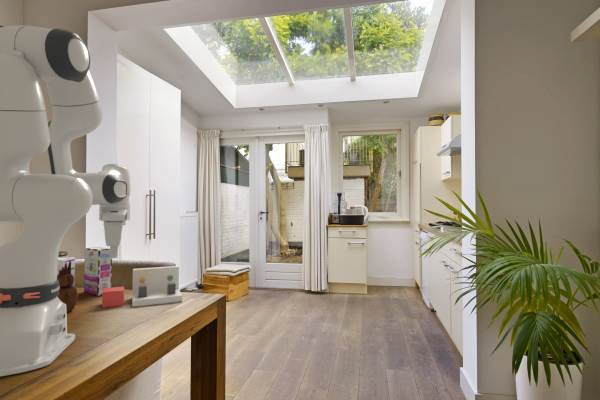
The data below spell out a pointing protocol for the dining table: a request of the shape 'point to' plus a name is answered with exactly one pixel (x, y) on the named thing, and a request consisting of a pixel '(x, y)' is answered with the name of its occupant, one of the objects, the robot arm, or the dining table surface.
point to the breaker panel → (156, 298)
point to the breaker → (142, 291)
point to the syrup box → (66, 260)
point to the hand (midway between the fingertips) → (113, 257)
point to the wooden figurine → (67, 288)
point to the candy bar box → (97, 270)
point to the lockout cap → (113, 297)
